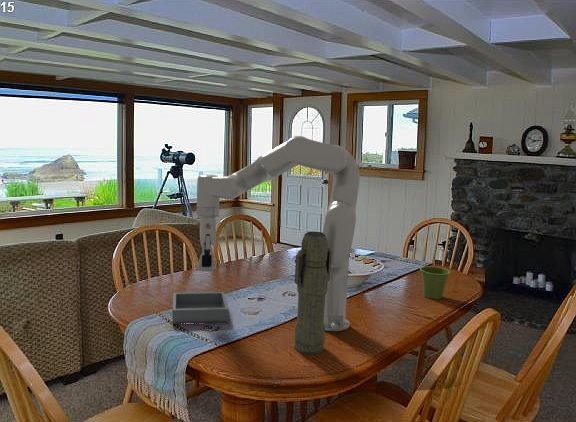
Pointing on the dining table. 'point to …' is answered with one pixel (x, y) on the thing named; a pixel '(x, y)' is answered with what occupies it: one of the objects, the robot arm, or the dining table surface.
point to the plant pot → (434, 281)
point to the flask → (208, 269)
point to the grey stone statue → (311, 292)
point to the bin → (200, 308)
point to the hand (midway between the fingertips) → (206, 264)
